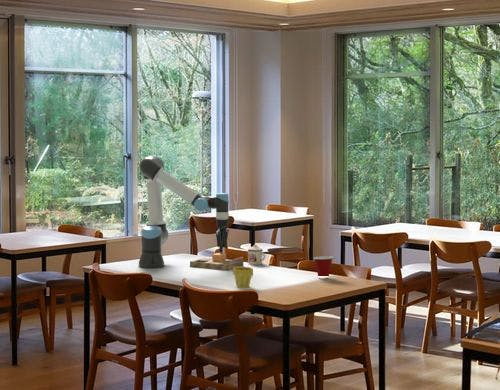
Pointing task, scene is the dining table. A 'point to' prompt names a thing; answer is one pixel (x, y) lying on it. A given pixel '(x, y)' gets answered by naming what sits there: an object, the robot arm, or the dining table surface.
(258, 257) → the teacup with lid
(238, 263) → the trap board
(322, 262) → the plastic cup
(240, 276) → the plant pot
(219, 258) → the block
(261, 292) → the dining table surface
